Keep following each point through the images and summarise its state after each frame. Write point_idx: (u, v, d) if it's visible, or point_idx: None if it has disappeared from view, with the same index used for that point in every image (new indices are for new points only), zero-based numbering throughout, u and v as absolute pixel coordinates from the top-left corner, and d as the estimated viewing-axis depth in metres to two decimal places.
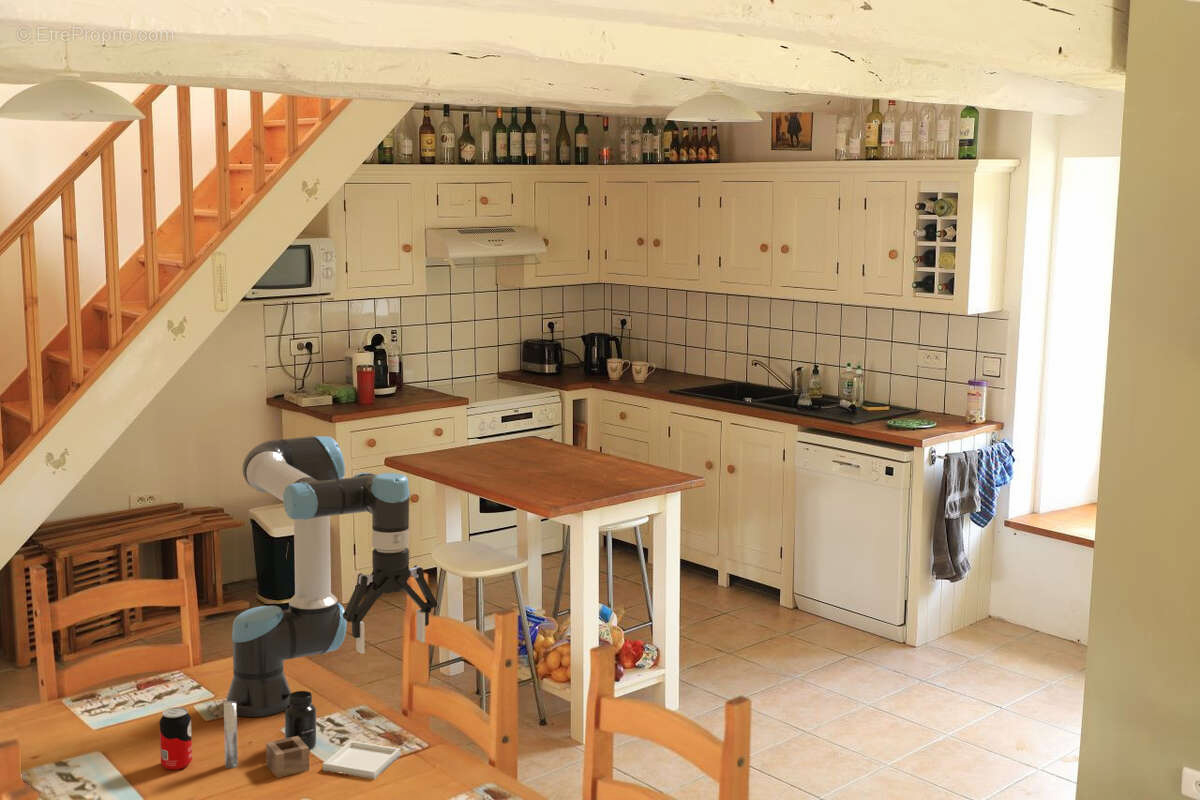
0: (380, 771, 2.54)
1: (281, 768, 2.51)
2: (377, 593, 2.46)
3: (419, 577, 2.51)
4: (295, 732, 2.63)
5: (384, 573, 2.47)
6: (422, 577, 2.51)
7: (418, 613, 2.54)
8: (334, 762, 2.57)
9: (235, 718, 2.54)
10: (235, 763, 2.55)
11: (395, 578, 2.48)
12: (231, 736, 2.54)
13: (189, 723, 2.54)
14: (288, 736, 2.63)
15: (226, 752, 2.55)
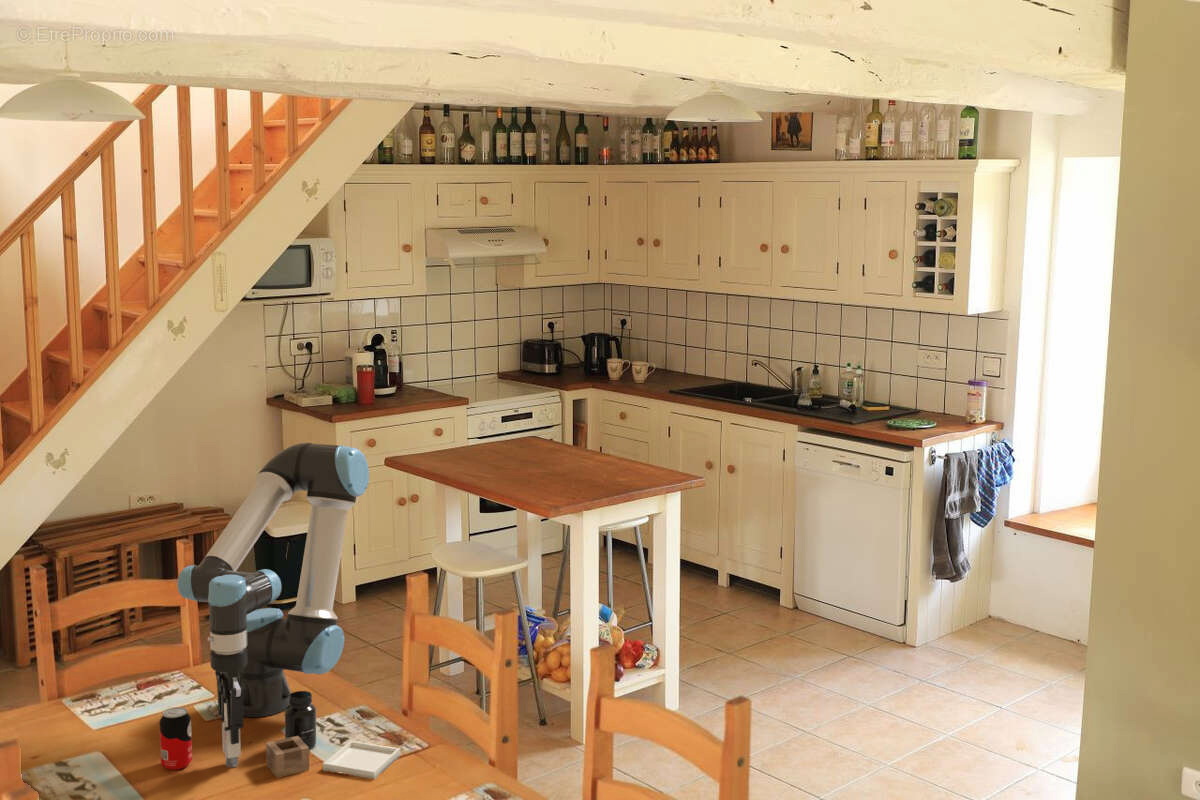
0: (380, 771, 2.54)
1: (281, 768, 2.51)
2: (219, 690, 2.55)
3: (231, 694, 2.49)
4: (295, 732, 2.63)
5: None
6: (231, 697, 2.49)
7: None
8: (334, 762, 2.57)
9: None
10: (235, 762, 2.56)
11: (224, 677, 2.52)
12: None
13: (189, 723, 2.54)
14: (288, 736, 2.63)
15: (226, 751, 2.55)
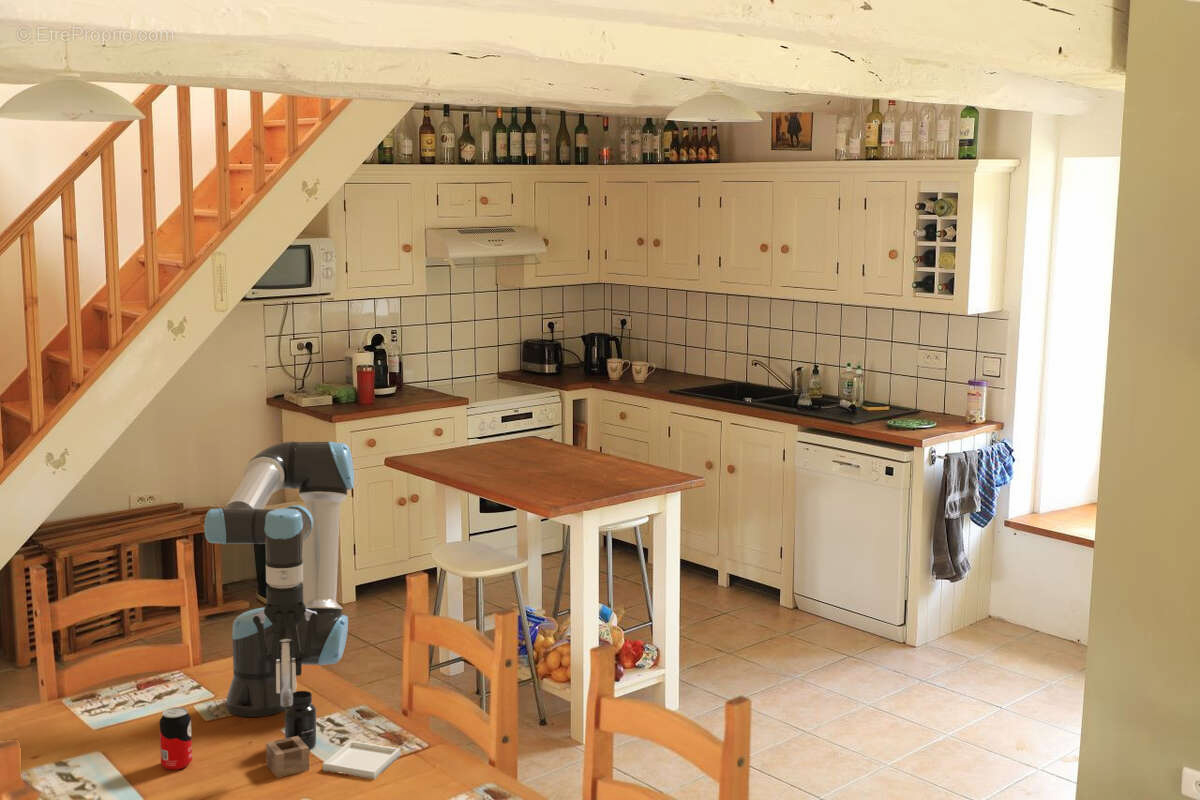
0: (380, 771, 2.54)
1: (281, 768, 2.51)
2: (275, 630, 2.49)
3: (309, 621, 2.51)
4: (295, 732, 2.63)
5: (272, 605, 2.49)
6: (311, 623, 2.51)
7: None
8: (334, 762, 2.57)
9: None
10: None
11: (288, 612, 2.50)
12: None
13: (189, 723, 2.54)
14: (288, 736, 2.63)
15: (288, 690, 2.52)
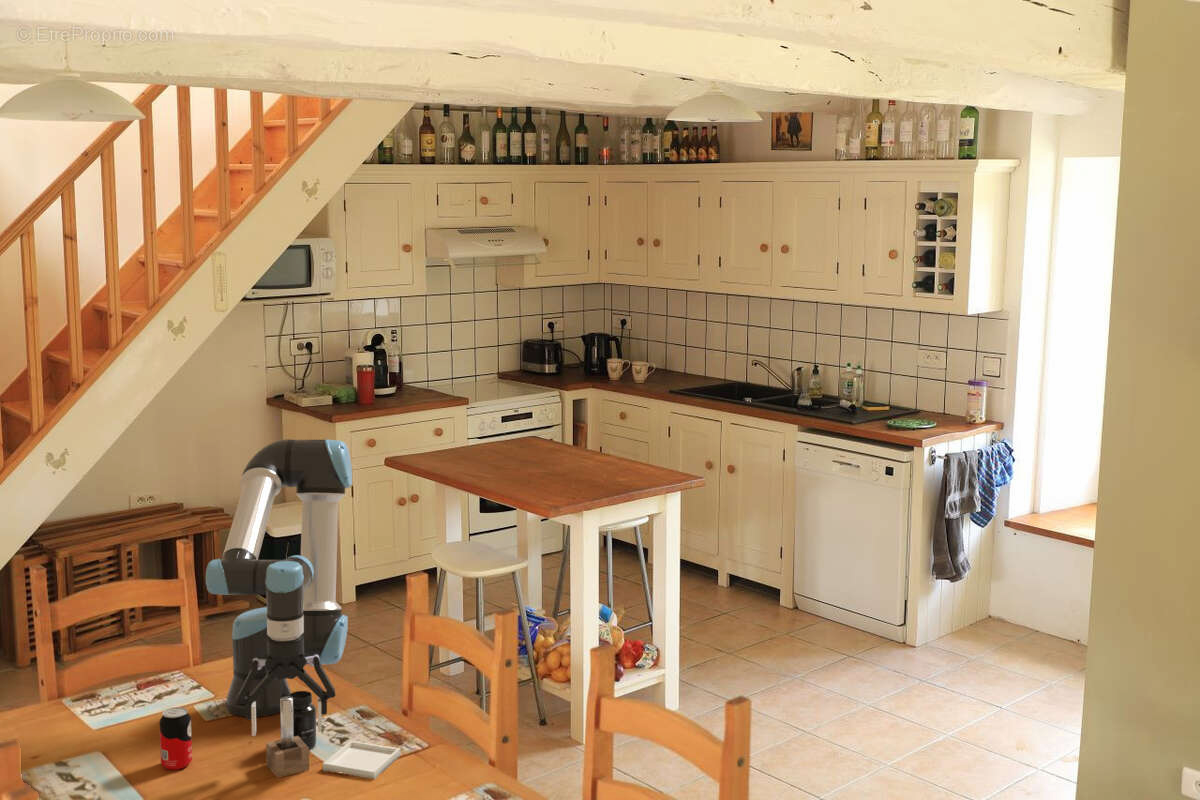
0: (380, 771, 2.54)
1: (281, 768, 2.51)
2: (268, 678, 2.50)
3: (315, 666, 2.53)
4: (295, 732, 2.63)
5: (276, 659, 2.51)
6: (318, 666, 2.53)
7: None
8: (334, 762, 2.57)
9: None
10: None
11: (288, 665, 2.52)
12: (292, 729, 2.55)
13: (189, 723, 2.54)
14: None
15: (289, 747, 2.54)
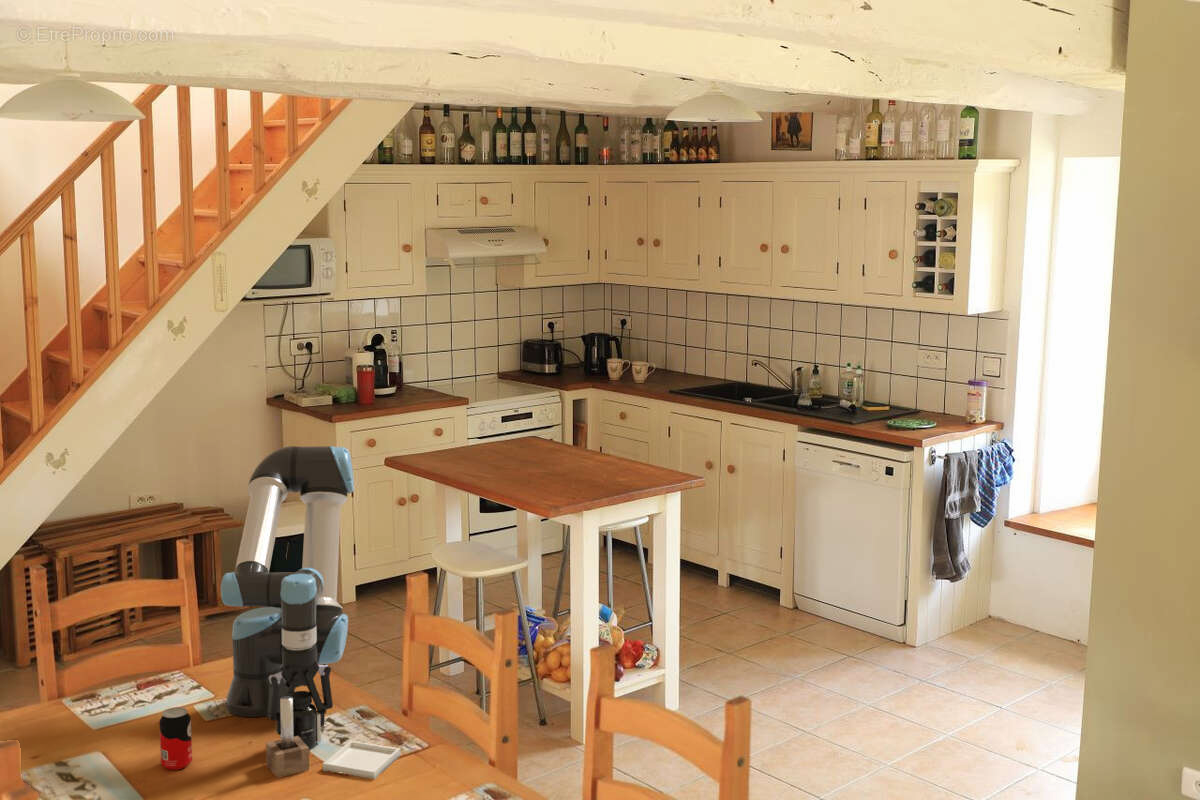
0: (380, 771, 2.54)
1: (281, 768, 2.51)
2: (290, 690, 2.62)
3: (325, 675, 2.66)
4: (295, 732, 2.63)
5: (291, 667, 2.62)
6: (327, 676, 2.67)
7: None
8: (334, 762, 2.57)
9: None
10: None
11: (304, 672, 2.63)
12: (292, 729, 2.55)
13: (189, 723, 2.54)
14: None
15: (289, 747, 2.54)
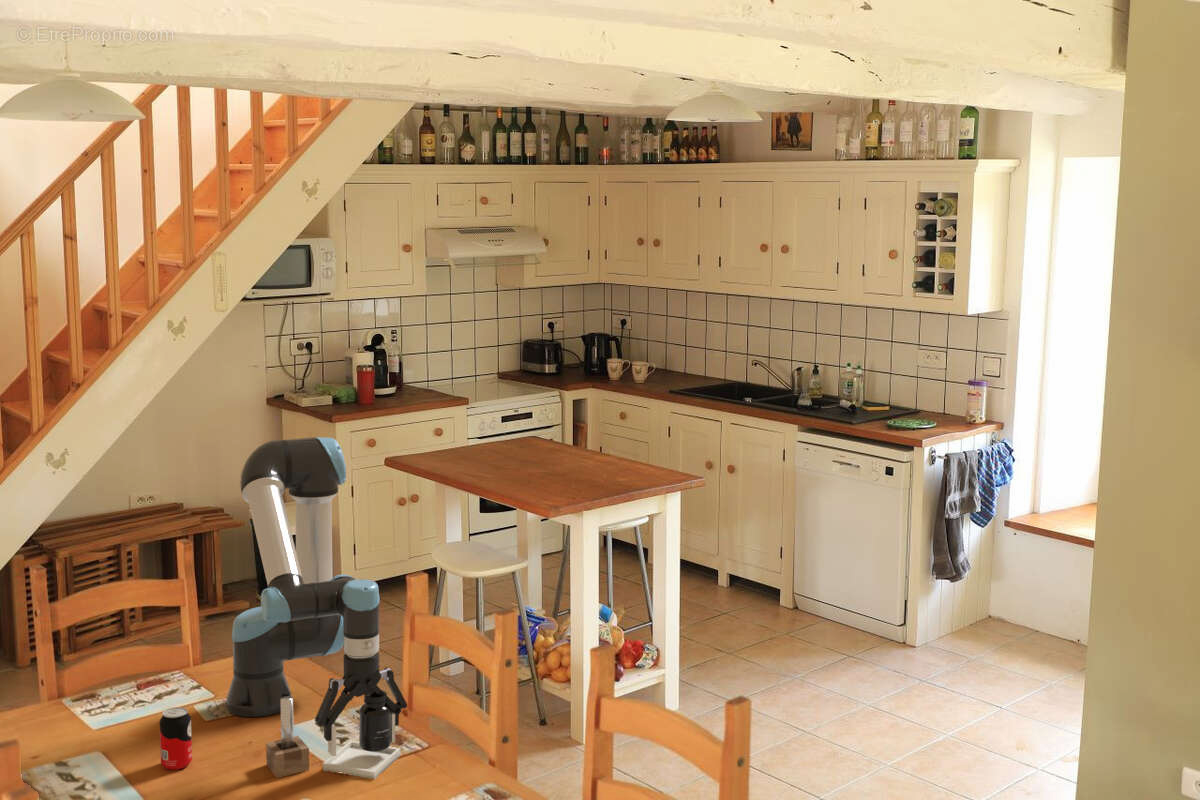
0: (380, 771, 2.54)
1: (281, 768, 2.51)
2: (348, 697, 2.53)
3: (389, 679, 2.59)
4: (371, 732, 2.56)
5: (355, 677, 2.54)
6: (392, 679, 2.59)
7: None
8: (334, 762, 2.57)
9: None
10: None
11: (366, 682, 2.55)
12: (293, 729, 2.55)
13: (189, 723, 2.54)
14: (363, 736, 2.57)
15: (289, 747, 2.54)
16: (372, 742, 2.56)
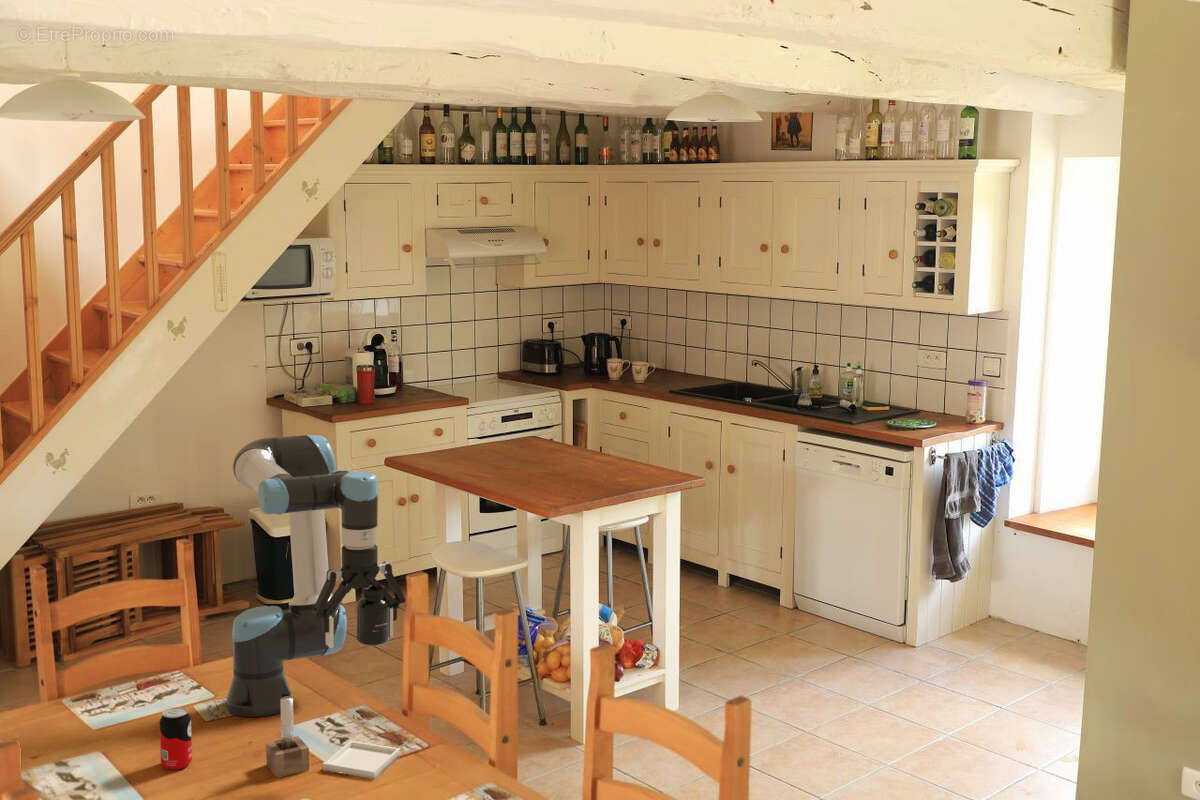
0: (380, 771, 2.54)
1: (281, 768, 2.51)
2: (346, 589, 2.51)
3: (387, 573, 2.57)
4: (369, 625, 2.54)
5: (353, 569, 2.52)
6: (390, 573, 2.57)
7: None
8: (334, 762, 2.57)
9: None
10: None
11: (364, 574, 2.54)
12: (293, 729, 2.55)
13: (189, 723, 2.54)
14: (361, 629, 2.55)
15: (289, 747, 2.54)
16: (370, 635, 2.55)
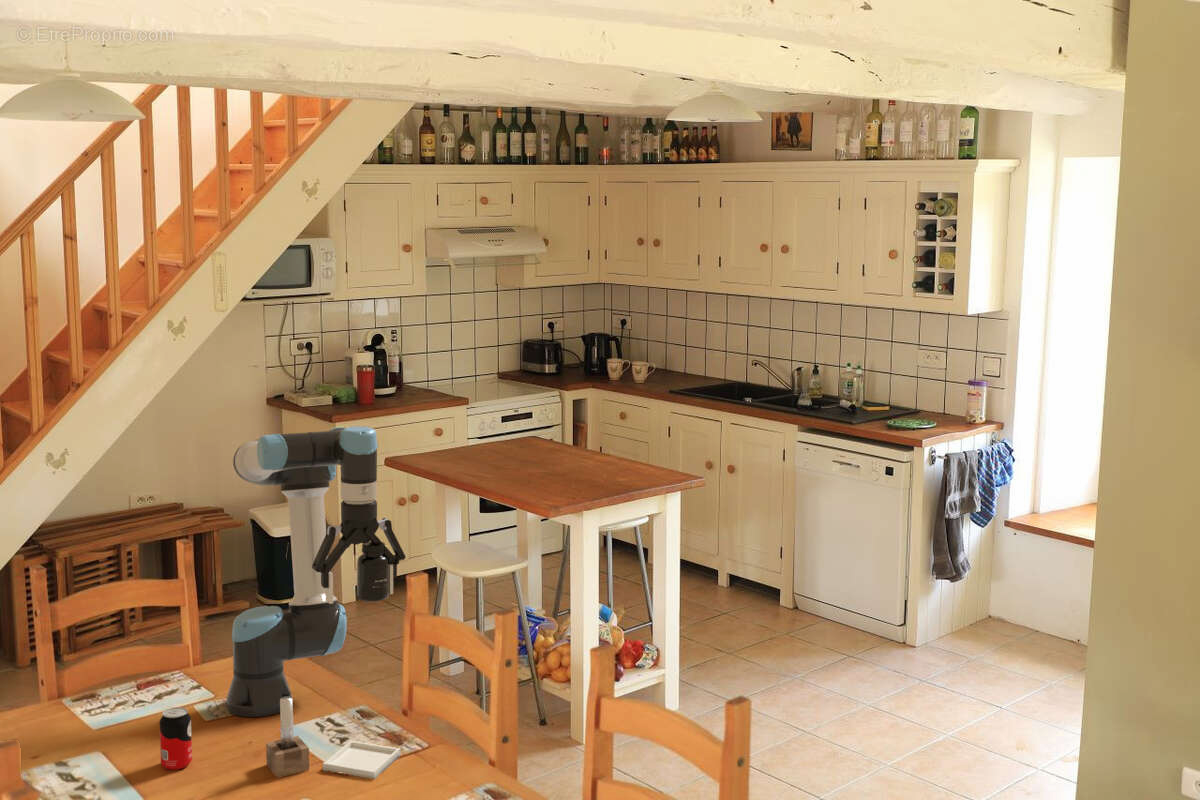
0: (380, 771, 2.54)
1: (281, 768, 2.51)
2: (345, 544, 2.50)
3: (387, 529, 2.56)
4: (369, 581, 2.53)
5: (352, 524, 2.51)
6: (390, 529, 2.56)
7: None
8: (334, 762, 2.57)
9: None
10: None
11: (363, 530, 2.53)
12: (292, 729, 2.55)
13: (189, 723, 2.54)
14: (361, 585, 2.54)
15: (289, 747, 2.54)
16: (370, 591, 2.53)
